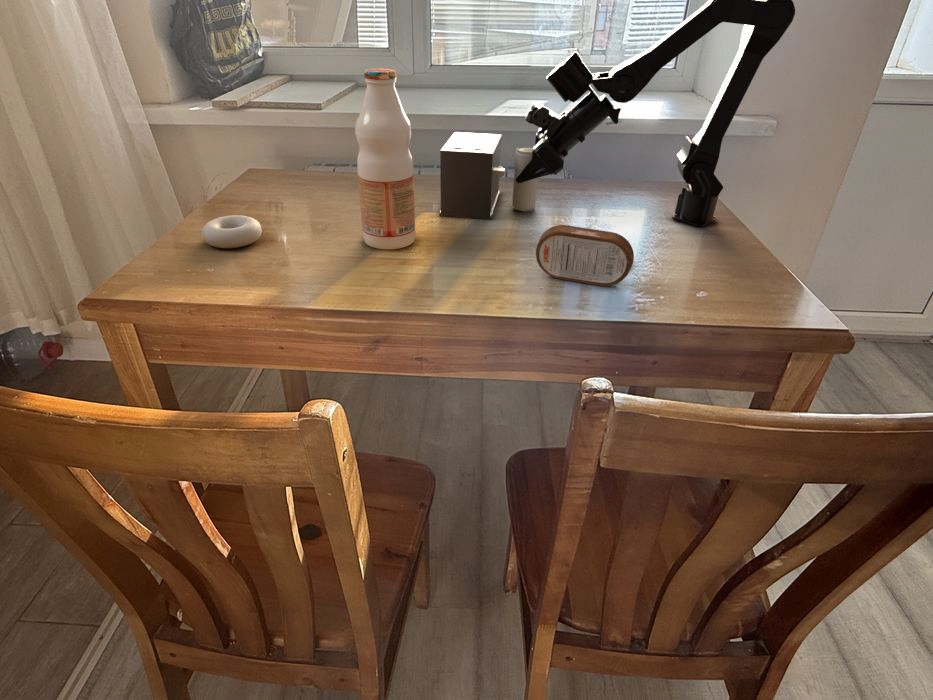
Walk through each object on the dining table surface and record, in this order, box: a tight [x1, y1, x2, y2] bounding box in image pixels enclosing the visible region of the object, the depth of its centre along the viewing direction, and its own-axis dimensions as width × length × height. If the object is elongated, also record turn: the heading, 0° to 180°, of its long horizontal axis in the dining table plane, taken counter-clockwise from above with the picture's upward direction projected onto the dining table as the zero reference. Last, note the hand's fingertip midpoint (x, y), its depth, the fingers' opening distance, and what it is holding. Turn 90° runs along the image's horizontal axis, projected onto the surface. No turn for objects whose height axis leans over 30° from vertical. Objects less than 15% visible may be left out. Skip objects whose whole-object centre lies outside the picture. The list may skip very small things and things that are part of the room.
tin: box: [535, 224, 635, 287], centre depth 90 cm, size 15×3×8 cm, turn 71°
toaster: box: [438, 131, 506, 221], centre depth 119 cm, size 12×16×13 cm
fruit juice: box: [354, 67, 416, 250], centre depth 97 cm, size 9×9×28 cm
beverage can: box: [511, 146, 539, 212], centre depth 118 cm, size 5×5×12 cm
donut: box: [201, 214, 263, 249], centre depth 103 cm, size 10×4×10 cm
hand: (518, 175), depth 118 cm, fingers open, 8 cm apart
